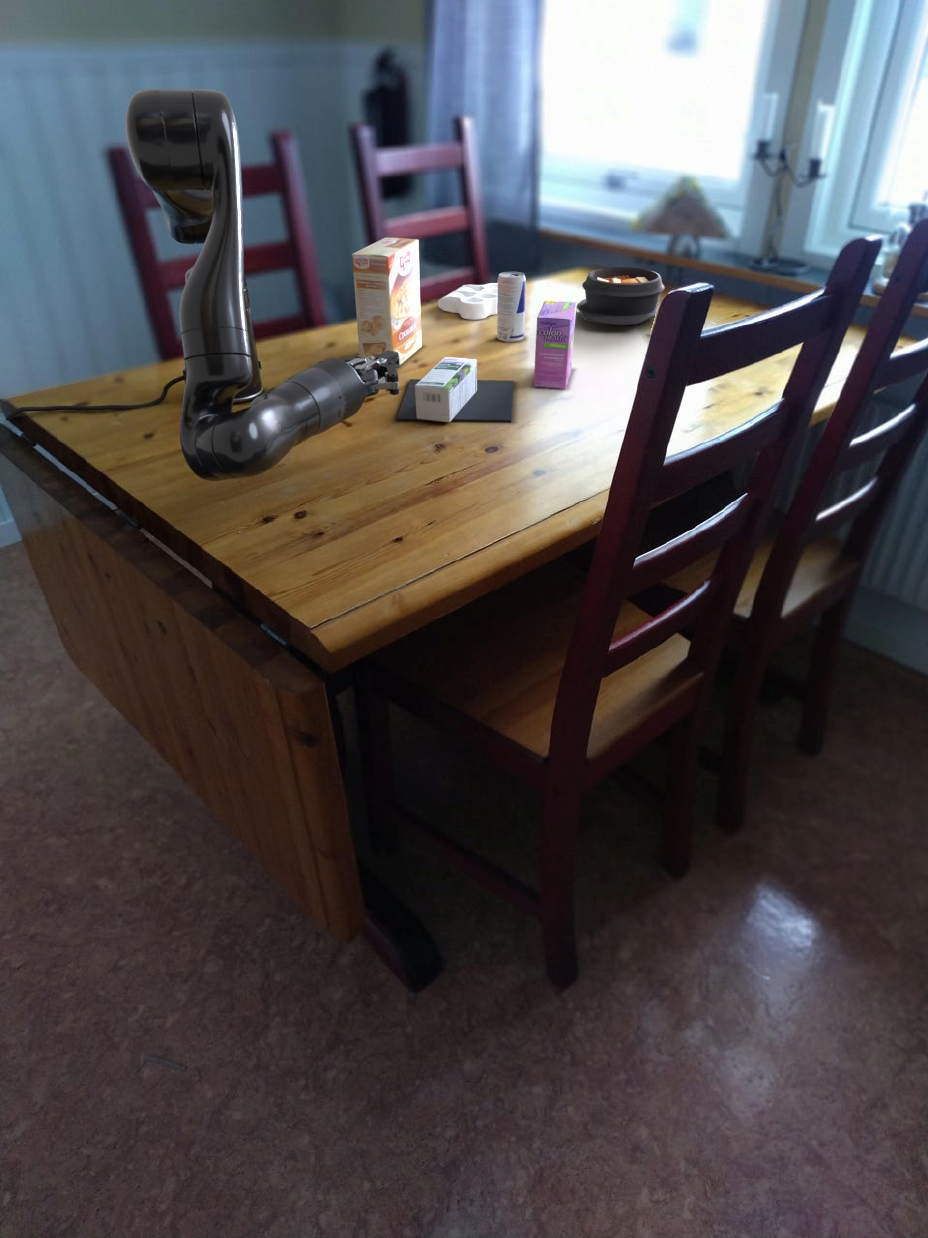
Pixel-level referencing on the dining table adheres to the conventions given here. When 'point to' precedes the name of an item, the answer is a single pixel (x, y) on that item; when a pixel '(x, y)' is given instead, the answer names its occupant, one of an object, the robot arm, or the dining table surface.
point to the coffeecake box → (388, 297)
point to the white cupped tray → (472, 301)
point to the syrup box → (446, 389)
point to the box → (554, 344)
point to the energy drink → (511, 306)
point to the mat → (470, 403)
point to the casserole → (621, 295)
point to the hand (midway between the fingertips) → (394, 358)
